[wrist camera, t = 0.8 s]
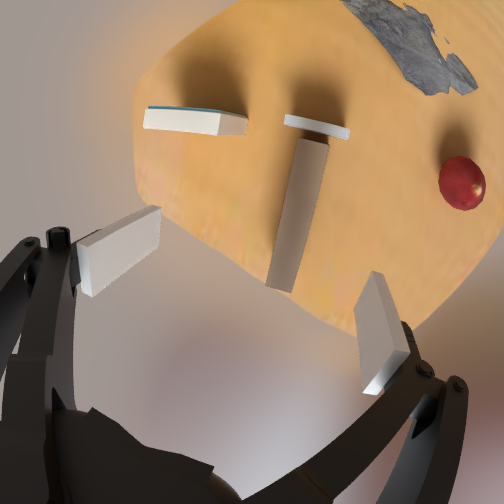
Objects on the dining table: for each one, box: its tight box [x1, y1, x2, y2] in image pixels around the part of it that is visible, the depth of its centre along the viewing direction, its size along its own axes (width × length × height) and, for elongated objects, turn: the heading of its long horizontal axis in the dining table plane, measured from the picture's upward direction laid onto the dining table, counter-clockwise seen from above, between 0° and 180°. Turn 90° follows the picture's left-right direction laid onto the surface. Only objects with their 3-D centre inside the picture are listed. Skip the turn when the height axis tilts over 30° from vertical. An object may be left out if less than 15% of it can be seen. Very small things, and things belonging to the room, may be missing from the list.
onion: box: [438, 156, 486, 211], centre depth 21 cm, size 6×6×8 cm
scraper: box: [265, 114, 350, 293], centre depth 28 cm, size 6×18×6 cm, turn 170°
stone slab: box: [342, 0, 478, 95], centre depth 19 cm, size 18×2×10 cm
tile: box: [143, 106, 249, 136], centre depth 26 cm, size 8×2×9 cm, turn 81°
